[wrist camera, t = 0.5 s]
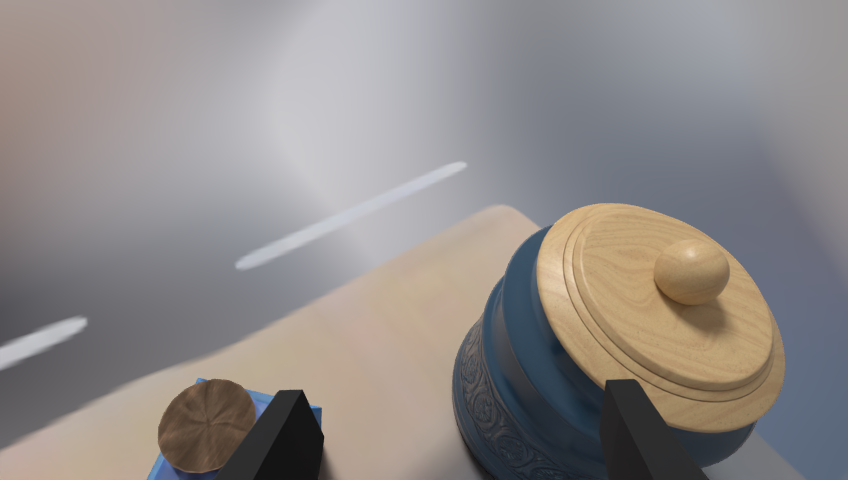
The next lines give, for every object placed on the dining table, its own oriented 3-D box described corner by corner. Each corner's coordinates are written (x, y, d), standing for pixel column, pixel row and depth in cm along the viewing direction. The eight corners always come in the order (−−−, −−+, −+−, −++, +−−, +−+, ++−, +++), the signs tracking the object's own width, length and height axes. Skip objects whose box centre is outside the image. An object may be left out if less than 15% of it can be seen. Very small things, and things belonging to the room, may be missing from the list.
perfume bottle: (219, 415, 27) (167, 324, 18) (321, 439, 27) (322, 362, 18) (165, 536, 23) (60, 502, 14) (283, 563, 23) (259, 547, 14)
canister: (408, 419, 29) (490, 265, 15) (501, 286, 36) (612, 103, 23) (591, 561, 26) (898, 531, 12) (650, 385, 34) (882, 244, 20)
